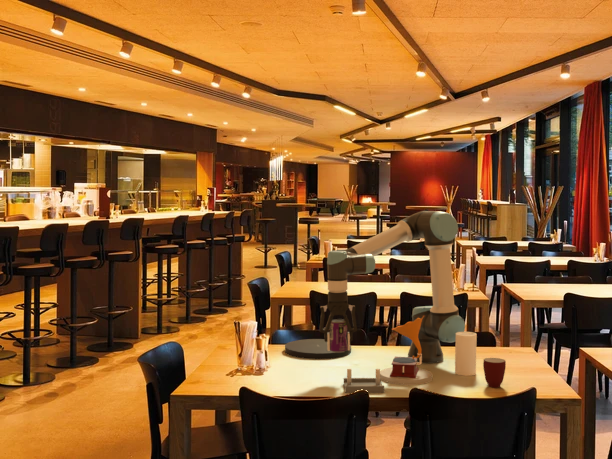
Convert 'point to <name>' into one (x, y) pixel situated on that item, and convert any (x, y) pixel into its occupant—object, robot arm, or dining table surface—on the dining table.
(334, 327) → the beverage can
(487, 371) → the mug
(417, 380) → the gramophone
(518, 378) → the dining table surface
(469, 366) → the white cylinder
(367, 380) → the cradle tray
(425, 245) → the robot arm
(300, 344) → the disc
